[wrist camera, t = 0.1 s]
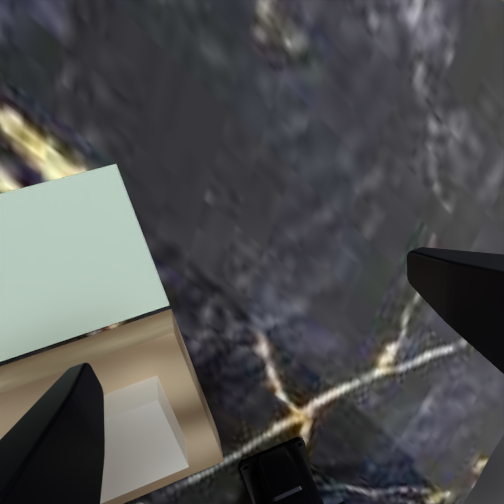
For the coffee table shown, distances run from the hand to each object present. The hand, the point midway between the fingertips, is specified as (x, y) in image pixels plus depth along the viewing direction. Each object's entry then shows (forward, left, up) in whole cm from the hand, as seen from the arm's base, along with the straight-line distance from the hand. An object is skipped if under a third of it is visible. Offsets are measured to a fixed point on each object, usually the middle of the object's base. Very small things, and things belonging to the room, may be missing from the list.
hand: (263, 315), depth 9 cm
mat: (-2, +14, -15) cm, 21 cm away
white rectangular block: (-13, +10, -12) cm, 20 cm away
